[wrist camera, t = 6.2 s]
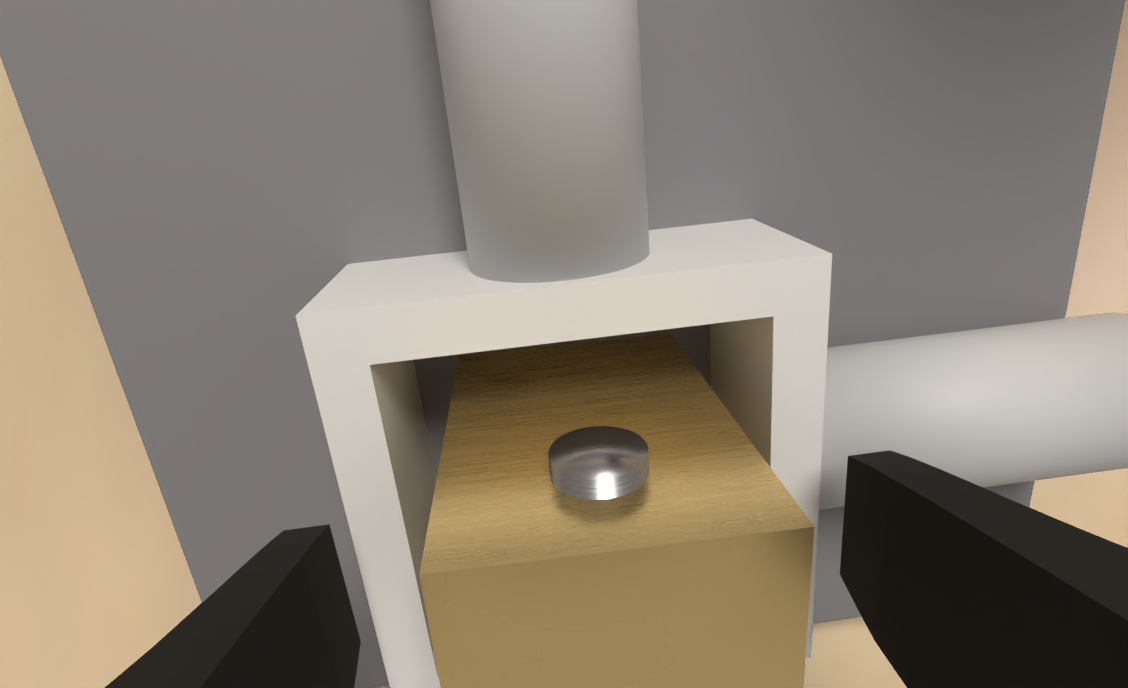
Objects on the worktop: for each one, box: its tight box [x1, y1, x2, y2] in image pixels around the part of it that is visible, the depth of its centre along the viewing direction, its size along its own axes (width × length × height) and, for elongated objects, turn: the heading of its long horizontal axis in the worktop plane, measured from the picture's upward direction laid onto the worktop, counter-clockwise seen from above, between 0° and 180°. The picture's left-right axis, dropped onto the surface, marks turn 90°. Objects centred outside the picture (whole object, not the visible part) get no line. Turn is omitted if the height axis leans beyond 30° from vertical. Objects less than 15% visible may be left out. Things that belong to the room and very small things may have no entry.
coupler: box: [419, 334, 815, 688], centre depth 10 cm, size 4×5×6 cm
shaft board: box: [0, 0, 1128, 688], centre depth 11 cm, size 18×18×4 cm
